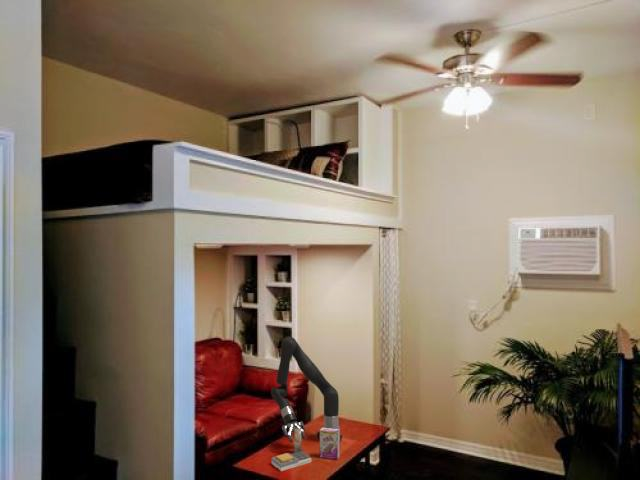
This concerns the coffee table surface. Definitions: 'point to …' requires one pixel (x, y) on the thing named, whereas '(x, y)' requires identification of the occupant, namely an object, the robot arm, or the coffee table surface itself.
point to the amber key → (284, 457)
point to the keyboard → (292, 461)
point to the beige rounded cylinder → (297, 440)
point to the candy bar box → (329, 443)
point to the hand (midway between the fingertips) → (298, 440)
